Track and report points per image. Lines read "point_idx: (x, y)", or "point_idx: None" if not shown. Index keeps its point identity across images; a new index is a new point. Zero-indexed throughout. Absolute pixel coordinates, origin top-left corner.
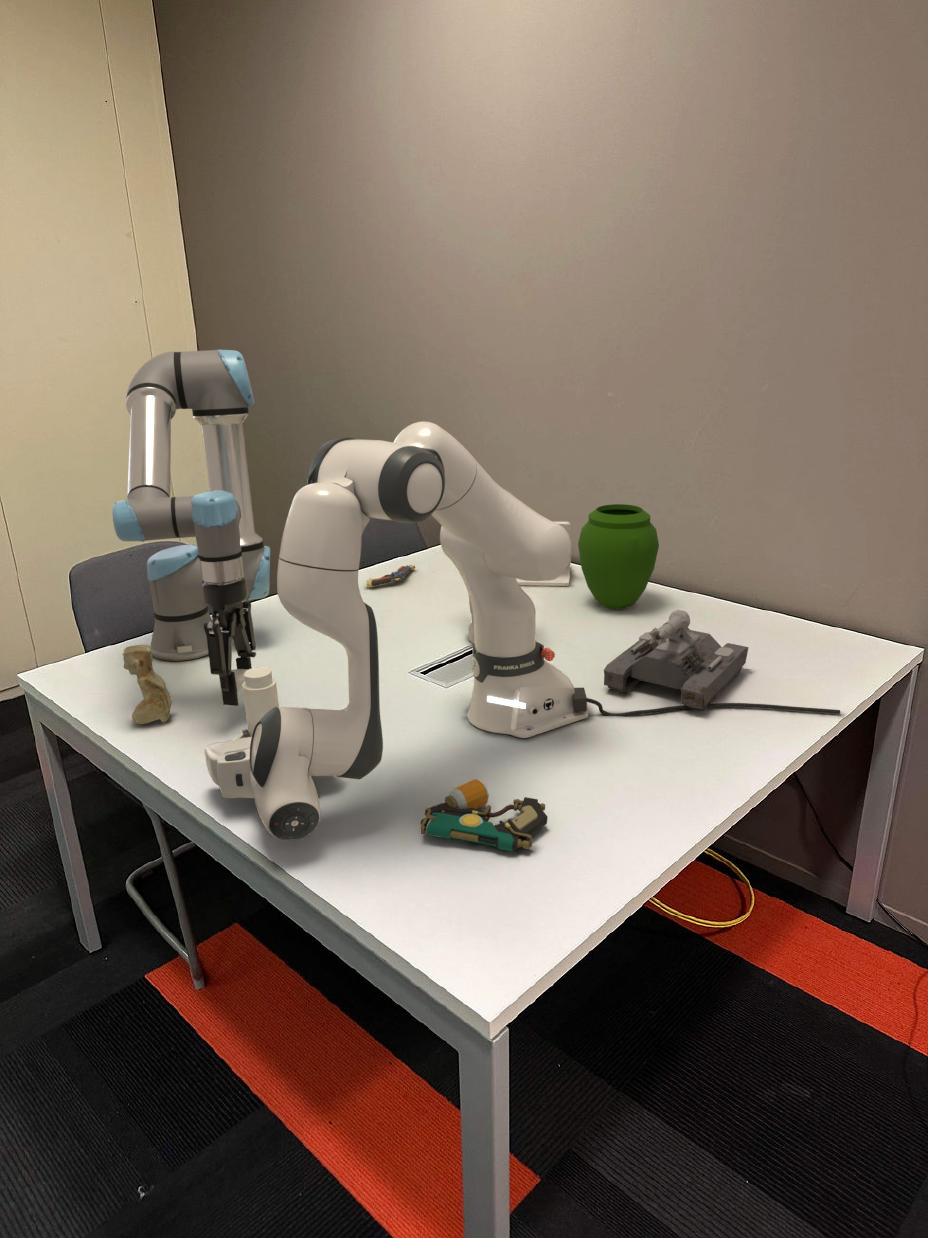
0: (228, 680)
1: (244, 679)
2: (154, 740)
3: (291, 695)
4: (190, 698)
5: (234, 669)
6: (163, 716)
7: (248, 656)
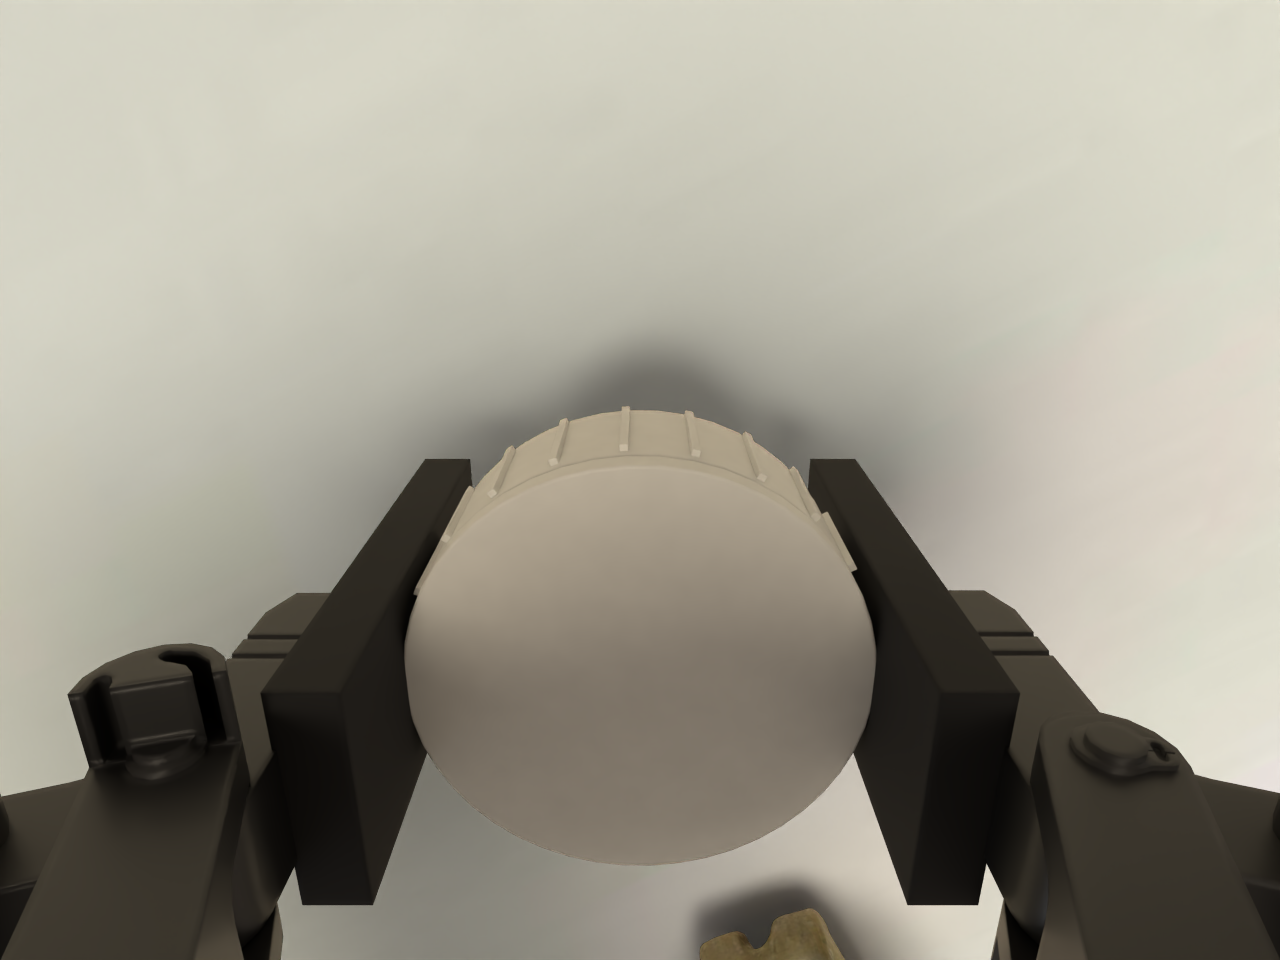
0: (1017, 677)
1: (777, 503)
2: None
3: (94, 196)
4: (429, 927)
5: (461, 791)
6: (832, 949)
7: (244, 752)
